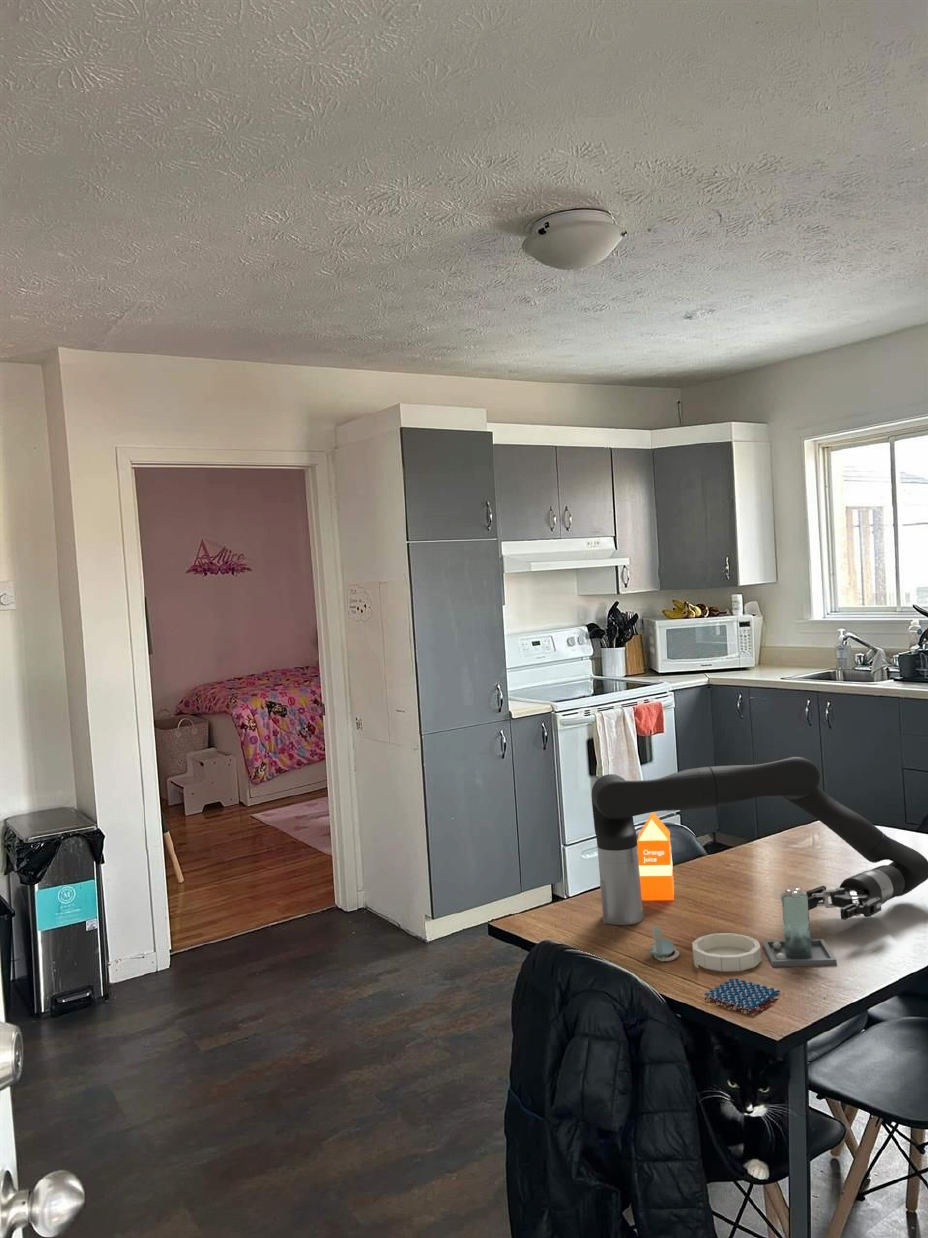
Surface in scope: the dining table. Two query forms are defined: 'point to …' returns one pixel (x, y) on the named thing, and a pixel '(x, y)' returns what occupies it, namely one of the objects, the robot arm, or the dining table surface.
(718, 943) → the bowl
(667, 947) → the pacifier
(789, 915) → the teal cylinder
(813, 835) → the dining table surface
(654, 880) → the orange juice
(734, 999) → the woven mat
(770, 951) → the parts tray
